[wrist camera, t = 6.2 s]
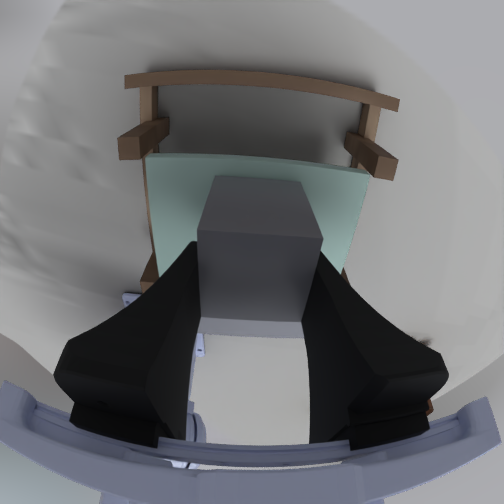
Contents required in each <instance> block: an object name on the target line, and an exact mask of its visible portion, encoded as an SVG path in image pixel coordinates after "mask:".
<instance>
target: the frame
mask: <svg viewBox="0 0 504 504" xmlns="http://www.w3.org/2000/svg"><path fill="white" fill-rule="evenodd" d="M185 84H222V85H245V86H259V87H270V88H280V89H288V90H296V91H303V92H310V93H316V94H322V95H328V96H333V97H338V98H343V99H348V100H353V101H357V102H361V103H363V107H362V113H361V119H360V124H359V130H358V133H353V132H348V131H347V134H346V140H345V145H344V148H345V149H346V150H347V151H348V152H349V153H350V154H351V155H352V156H353V159H352V164H351V168H356V169H362V170H366V171H367V172H369V173H370V174H371V175H372V176H373V177H375V178H381V179H386V180H391V181H393V179H394V175H395V172H396V168H397V164H398V159H396V158H395V157H394V156H392V155H391V154H390V153H388V152H387V151H386V150H384V149H383V148H382V147H380V146H379V145H377V144H376V143H375V142H374V141H375V136H376V131H377V127H378V121H379V116H380V111H381V108H385V109H388V110H392V111H395V112H398V107H399V101H400V99H397V98H394V97H391V96H387V95H384V94H380V93H377V92H373V91H369V90H366V89H362V88H357V87H353V86H349V85H344V84H340V83H335V82H330V81H324V80H319V79H313V78H307V77H300V76H293V75H285V74H276V73H266V72H254V71H237V70H178V71H162V72H150V73H140V74H131V75H125V89H128V88H137V87H140V125H138V126H137V127H135V128H133V129H131V130H130V131H128V132H126V133H125V134H123V135H121V136H120V137H118V138H117V139H118V151H119V160H138V159H141V158H142V163H143V175H144V186H145V196H146V205H147V214H148V222H149V229H150V236H151V243H152V250H153V252H152V255H151V257H150V259H149V261H148V264H147V266H146V268H145V270H144V273H143V275H142V277H141V280H140V285H141V289H142V293H144V292H145V291H146V290H147V289H148V288H149V287H150V286H151V285H153V283H154V282H155V281H156V280H157V279H158V278H159V272H158V266H157V259H156V253H155V246H154V239H153V232H152V224H151V216H150V207H149V198H148V188H147V176H146V163H145V157H146V156H148V155H149V154H150V153H159V148H158V143H159V142H161V141H162V140H163V139H164V138H165V137H166V136H168V135H169V117H161V118H158V86H162V85H185ZM341 275H342V277H343V278H344V279H345V280H346V281H347V282H348V283H349V281H348V278H347V275H346V273H345V270H344V267H343V269H342V272H341ZM349 285H350V283H349Z"/></svg>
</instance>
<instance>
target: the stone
mask: <svg viewBox="0 0 504 504" xmlns="http://www.w3.org/2000/svg"><path fill="white" fill-rule="evenodd" d="M323 239H324V238H323V235H322V233H321V230H320V228H319V225H318V223H317V220H316V218H315V215H314V213H313V210H312V208H311V205H310V203H309V201H308V198H307V196H306V193H305V191H304V189H303V186H302V184H301V182H298V181H287V180H277V179H265V178H251V177H236V176H217V175H215V177H214V180H213V183H212V186H211V189H210V191H209V194H208V197H207V200H206V203H205V206H204V209H203V212H202V215H201V218H200V221H199V224H198V228H197V251H198V270H199V290H200V307H201V317H206V318H219V319H234V320H252V321H275V322H301V320H302V316H303V313H304V310H305V306H306V303H307V299H308V295H309V292H310V288H311V285H312V281H313V277H314V273H315V270H316V267H317V263H318V259H319V255H320V251H321V247H322V243H323Z"/></svg>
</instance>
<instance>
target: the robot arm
mask: <svg viewBox="0 0 504 504" xmlns="http://www.w3.org/2000/svg"><path fill="white" fill-rule="evenodd" d="M122 299H123V302H124V305H125V308H124V309H122V310H121V311H120V312H118V313H117V314H115V315H114V316H112V317H111V318H109V319H108V320H106V321H104V322H103V323H101V324H99V325H98V326H96V327H94V328H92V329H90V330H88V331H86V332H84V333H82V334H80V335H78V336H76V337H74V338H72V339H70V340H68V342H67V344H66V345H65V347H64V349H63V352H62V354H61V356H60V359H59V361H58V364H57V366H56V369H55V371H54V374H53V375H54V378H55V381H56V382H57V384H58V385H59V386H60V388H61V389H62V390H63V391H64V392H65V393H66V394H67V395H68V396H69V397H70V398H71V399H72V400H73V401H74V406H73V409H72V412H71V414H70V413H67V412H64V411H61V410H59V409H56V408H54V407H51V406H48V405H46V404H43V403H41V402H39V401H37V400H36V399H35V398H34V397H33V396H32V395H31V394H30V393H29V392H27V391H26V390H24V389H23V388H21V387H18V386H16V385H14V384H12V383H10V382H8V381H6V380H5V381H3V384H2V386H1V389H0V442H1V443H3V444H4V445H6V446H7V447H9V448H11V449H12V450H14V451H15V452H17V453H19V454H21V455H22V456H24V457H26V458H27V459H29V460H31V461H33V462H34V463H36V464H38V465H40V466H42V467H44V468H46V469H48V470H50V471H52V472H54V473H56V474H58V475H60V476H63V477H65V478H67V479H70V480H72V481H74V482H76V483H79V484H81V485H84V486H86V487H89V488H92V489H94V490H97V491H100V492H101V497H100V503H99V504H384V498H386V497H389V496H393V495H396V494H399V493H401V492H405V491H407V490H410V489H413V488H415V487H418V486H421V485H423V484H426V483H428V482H430V481H433V480H435V479H437V478H439V477H442V476H444V475H446V474H448V473H450V472H452V471H454V470H456V469H458V468H460V467H462V466H464V465H466V464H468V463H470V462H471V461H473V460H475V459H477V458H479V457H480V456H482V455H484V454H486V453H487V452H489V451H490V450H492V449H494V448H495V447H497V446H499V445H500V444H501V439H500V435H499V431H498V428H497V425H496V422H495V419H494V415H493V413H492V410H491V407H490V404H489V401H488V399H487V397H483V398H480V399H478V400H475V401H473V402H471V403H469V404H467V405H465V406H464V407H463V408H461V409H460V410H459V411H458V412H457V413H455V414H452V415H449V416H446V417H443V418H440V419H437V420H434V421H431V422H428V418H427V415H426V411H428V410H429V404H428V400H429V399H430V398H431V397H432V396H433V395H434V394H435V393H437V392H438V391H439V390H440V389H441V388H442V387H443V386H444V385H445V383H446V382H447V380H448V378H449V373H448V371H447V368H446V366H445V363H444V361H443V358H442V356H441V354H440V353H438V352H436V351H434V350H433V349H431V348H429V347H427V346H425V345H423V344H421V343H420V342H418V341H416V340H415V339H413V338H412V337H410V336H409V335H407V334H405V333H404V332H403V331H401V330H400V329H398V328H397V327H396V326H394V325H393V324H392V323H390V322H389V321H388V320H386V319H385V318H384V317H383V316H381V315H380V314H379V313H378V312H377V311H376V310H375V309H373V308H372V307H371V306H370V305H369V304H368V303H367V302H366V301H365V300H364V299H363V298H362V297H361V296H360V295H359V294H358V293H357V292H356V291H355V290H354V289H353V288H352V287H351V286H350V285H349V283H348V282H347V281H346V280H345V279H344V278H343V277H342V275H341V274H340V273H339V272H338V271H337V270H336V268H335V267H334V266H333V265H332V263H331V262H330V261H329V260H328V259H327V257H326V256H325V255H324V254H323V253H322V251H320V255H319V259H318V263H317V267H316V270H315V273H314V277H313V281H312V285H311V288H310V292H309V295H308V299H307V303H306V306H305V310H304V313H303V316H302V320H301V324H302V329H303V334H304V339H305V345H306V350H307V357H308V368H309V387H310V436H309V444H300V445H275V446H251V445H226V444H212V443H206V428H205V425H204V423H203V421H202V419H201V417H200V415H199V414H197V413H194V412H193V410H194V402H192V401H189V399H190V395H191V388H192V380H193V373H194V366H195V359H196V356H197V357H203V356H205V348H204V337H203V334H201V333H197V332H198V328H199V323H200V319H201V307H200V290H199V270H198V251H197V241H191V242H190V243H189V244H188V245H187V246H186V248H185V249H184V250H183V251H182V253H181V254H180V255H179V256H178V257H177V259H176V260H175V261H174V262H173V263H172V264H171V266H170V267H169V268H168V269H167V270H166V271H165V272H164V273H163V274H162V275H161V276H160V277H159V278H158V279H157V280H156V281H155V282H154V283H153V285H151V286H150V287H149V288H148V289H147V290H146V291H145V292H144V293H143V294H142V295H140V294H131V293H124V294H123V296H122ZM345 460H346V461H345ZM338 461H342V463H341V464H337V465H329V466H321V467H311V468H299V469H282V470H226V469H215V470H200V469H197V468H198V467H199V465H200V464H205V465H217V466H232V467H285V466H302V465H313V464H322V463H331V462H338Z"/></svg>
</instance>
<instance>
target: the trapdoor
mask: <svg viewBox="0 0 504 504" xmlns="http://www.w3.org/2000/svg"><path fill="white" fill-rule="evenodd" d="M145 163H146V176H147V188H148V198H149V207H150V216H151V224H152V232H153V239H154V246H155V253H156V259H157V266H158V272H159V277H160V276H161V275H162V274H163V273H164V272H165V271H166V270H167V269H168V268H169V267H170V266H171V264H172V263H173V262H174V261H175V260H176V259H177V257H178V256H179V255H180V254H181V253H182V251H183V250H184V249H185V248H186V246H187V245H188V244H189V243H190V242H191V241H197V228H198V224H199V221H200V218H201V215H202V212H203V209H204V206H205V203H206V200H207V197H208V194H209V191H210V189H211V186H212V183H213V180H214V177H215V175H217V176H236V177H251V178H265V179H277V180H287V181H298V182H301V184H302V186H303V189H304V191H305V193H306V196H307V198H308V201H309V203H310V205H311V208H312V210H313V213H314V215H315V218H316V220H317V223H318V225H319V228H320V230H321V233H322V235H323V238H324V239H323V243H322V247H321V251H322V253H323V254H324V255H325V256H326V257H327V259H328V260H329V261H330V262H331V263H332V265H333V266H334V267H335V268H336V270H337V271H338V272H339V273H340V274H341V272H342V269H343V266H344V263H345V260H346V257H347V254H348V251H349V248H350V245H351V241H352V238H353V235H354V232H355V228H356V225H357V222H358V218H359V215H360V212H361V208H362V204H363V201H364V197H365V193H366V190H367V186H368V182H369V178H370V174H369V173H368V172H367V171H366V170H362V169H356V168H350V167H343V166H337V165H330V164H322V163H315V162H307V161H298V160H289V159H279V158H268V157H255V156H241V155H222V154H192V153H150V154H149V155H148V156H146V157H145ZM197 333H201V334H214V335H228V336H245V337H268V338H304V334H303V329H302V324H301V322H275V321H252V320H234V319H219V318H206V317H201V319H200V323H199V328H198V332H197Z"/></svg>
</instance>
